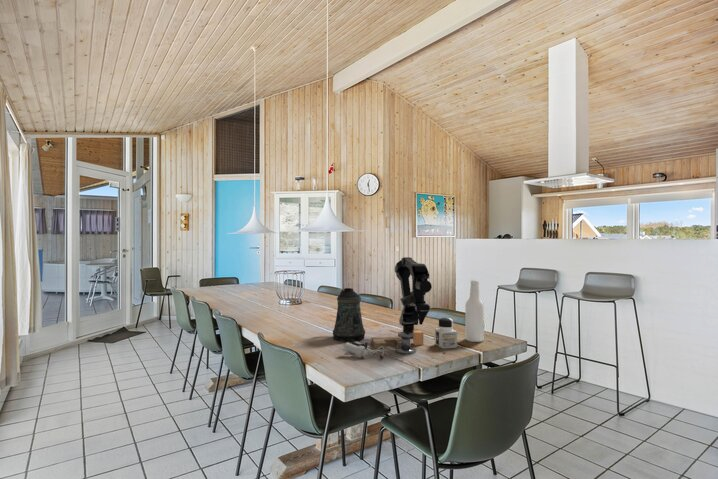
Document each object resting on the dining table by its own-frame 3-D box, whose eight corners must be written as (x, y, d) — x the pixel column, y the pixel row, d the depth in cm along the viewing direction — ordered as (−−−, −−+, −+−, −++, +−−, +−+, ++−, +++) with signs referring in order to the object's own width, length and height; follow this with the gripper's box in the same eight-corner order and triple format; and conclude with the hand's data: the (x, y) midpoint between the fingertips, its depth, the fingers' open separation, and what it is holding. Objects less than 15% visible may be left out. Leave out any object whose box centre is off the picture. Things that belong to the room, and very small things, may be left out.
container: (442, 348, 183) (442, 320, 183) (434, 344, 190) (434, 317, 190) (457, 347, 185) (457, 319, 185) (449, 343, 192) (449, 316, 192)
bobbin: (393, 349, 182) (393, 331, 182) (413, 348, 183) (413, 331, 183) (398, 354, 173) (398, 336, 173) (418, 353, 174) (418, 335, 174)
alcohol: (487, 341, 196) (487, 280, 196) (471, 343, 193) (472, 281, 193) (476, 337, 204) (477, 279, 204) (461, 338, 201) (462, 279, 201)
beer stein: (351, 344, 190) (351, 291, 190) (321, 338, 202) (321, 288, 202) (371, 337, 204) (371, 288, 204) (342, 332, 215) (342, 285, 215)
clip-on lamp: (387, 361, 173) (351, 347, 180) (391, 347, 173) (355, 334, 180) (377, 367, 162) (339, 352, 170) (381, 352, 162) (343, 337, 170)
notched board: (371, 342, 193) (371, 337, 193) (403, 341, 195) (403, 336, 195) (374, 348, 182) (374, 343, 182) (409, 347, 184) (409, 342, 184)
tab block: (413, 343, 193) (413, 330, 193) (421, 342, 193) (421, 330, 193) (415, 345, 189) (415, 332, 189) (423, 345, 189) (423, 332, 189)
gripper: (397, 287, 199) (397, 318, 199) (406, 292, 181) (406, 327, 181) (419, 287, 201) (419, 318, 201) (430, 292, 182) (430, 326, 182)
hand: (418, 322), depth 191 cm, fingers open, 9 cm apart
